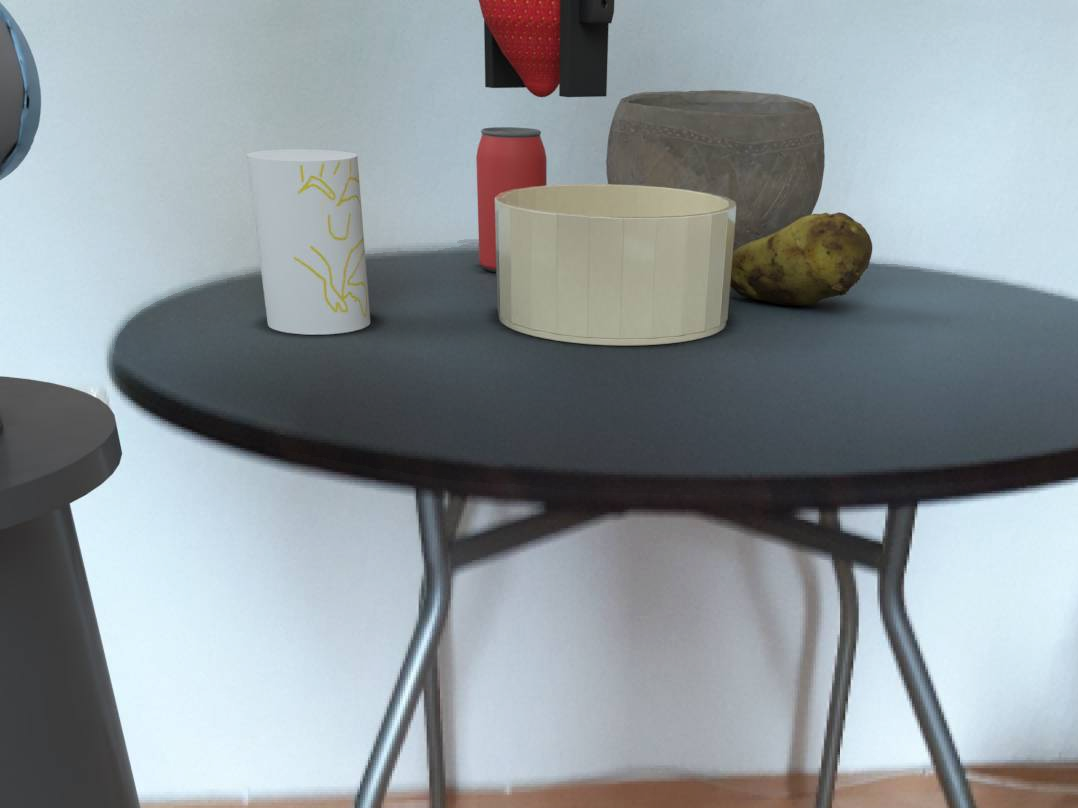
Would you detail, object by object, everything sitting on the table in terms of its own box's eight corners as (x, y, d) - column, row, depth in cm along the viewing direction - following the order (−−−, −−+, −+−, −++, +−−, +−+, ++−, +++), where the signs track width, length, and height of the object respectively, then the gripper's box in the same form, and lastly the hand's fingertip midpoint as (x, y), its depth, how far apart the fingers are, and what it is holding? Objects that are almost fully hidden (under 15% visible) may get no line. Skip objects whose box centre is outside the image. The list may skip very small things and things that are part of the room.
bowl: (755, 298, 108) (772, 108, 100) (564, 270, 117) (565, 94, 109) (843, 265, 123) (864, 97, 115) (668, 242, 132) (676, 85, 124)
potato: (785, 290, 112) (794, 195, 107) (878, 318, 103) (893, 216, 98) (713, 298, 108) (720, 200, 103) (803, 328, 99) (815, 222, 94)
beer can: (466, 267, 117) (461, 128, 111) (518, 260, 121) (516, 125, 114) (507, 278, 113) (505, 134, 107) (560, 270, 117) (561, 131, 110)
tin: (599, 357, 89) (602, 225, 84) (453, 311, 101) (448, 193, 96) (774, 325, 100) (786, 206, 95) (623, 286, 112) (626, 178, 107)
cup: (322, 339, 92) (304, 164, 85) (246, 324, 95) (223, 154, 88) (391, 320, 97) (379, 155, 91) (316, 307, 101) (300, 146, 94)
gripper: (757, -531, 50) (711, 104, 63) (491, -438, 62) (498, 79, 75) (622, -584, 46) (602, 106, 59) (365, -473, 58) (396, 80, 71)
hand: (544, 90), depth 67 cm, fingers closed on strawberry, 6 cm apart
